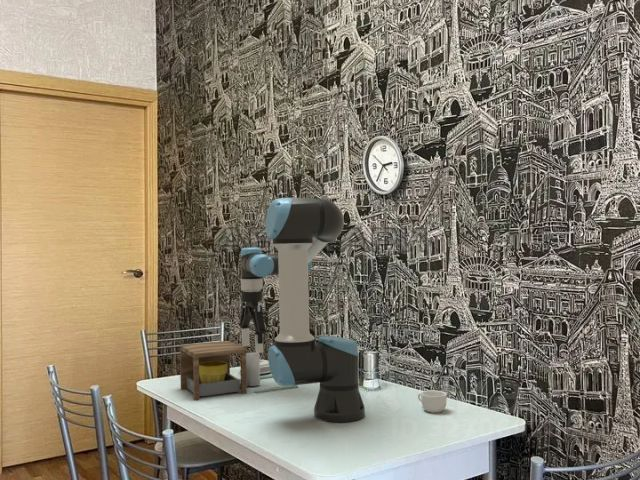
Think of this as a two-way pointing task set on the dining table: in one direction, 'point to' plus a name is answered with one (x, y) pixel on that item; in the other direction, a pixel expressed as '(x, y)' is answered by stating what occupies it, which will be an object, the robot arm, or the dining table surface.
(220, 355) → the tunnel
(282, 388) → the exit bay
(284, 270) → the robot arm
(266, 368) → the lid
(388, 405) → the dining table surface
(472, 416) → the dining table surface
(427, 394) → the teacup
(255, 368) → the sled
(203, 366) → the plant pot
